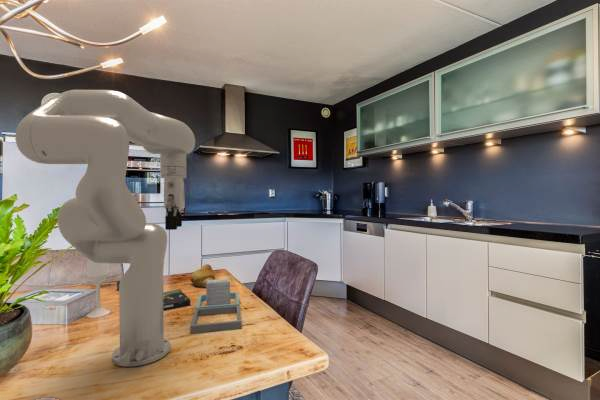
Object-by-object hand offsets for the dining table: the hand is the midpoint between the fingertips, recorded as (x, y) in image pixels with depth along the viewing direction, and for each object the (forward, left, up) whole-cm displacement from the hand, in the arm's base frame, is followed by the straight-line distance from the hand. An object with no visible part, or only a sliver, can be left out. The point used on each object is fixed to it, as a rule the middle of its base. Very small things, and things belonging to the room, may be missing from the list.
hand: (174, 228), depth 98 cm
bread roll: (+37, -6, -29) cm, 47 cm away
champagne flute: (+10, +25, -28) cm, 39 cm away
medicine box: (+9, -13, -29) cm, 33 cm away
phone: (+44, +26, -29) cm, 59 cm away
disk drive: (+16, +4, -29) cm, 33 cm away
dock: (+2, -13, -28) cm, 31 cm away
